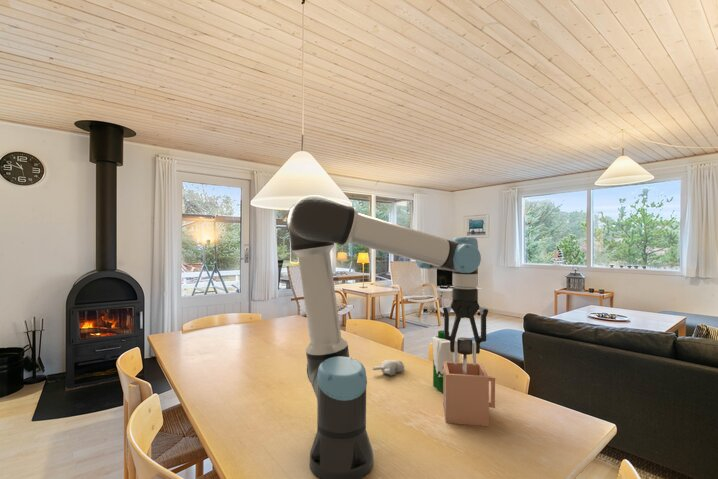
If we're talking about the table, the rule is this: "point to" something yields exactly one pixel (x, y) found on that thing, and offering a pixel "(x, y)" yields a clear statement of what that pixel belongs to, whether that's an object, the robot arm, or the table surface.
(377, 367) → the bunny figurine
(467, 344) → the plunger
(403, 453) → the table surface
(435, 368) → the soya milk
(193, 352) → the table surface
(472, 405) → the square pink mug
